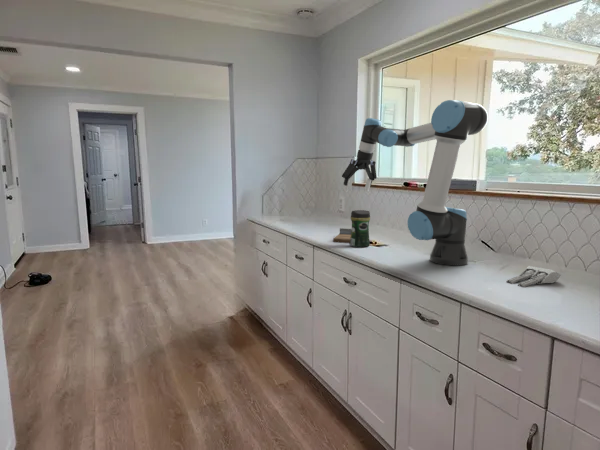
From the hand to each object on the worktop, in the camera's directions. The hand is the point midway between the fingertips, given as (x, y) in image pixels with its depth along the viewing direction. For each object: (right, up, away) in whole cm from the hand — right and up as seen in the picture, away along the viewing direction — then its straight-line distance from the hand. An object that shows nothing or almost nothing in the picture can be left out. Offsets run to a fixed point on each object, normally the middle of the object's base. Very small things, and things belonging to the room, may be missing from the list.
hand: (355, 191), depth 194 cm
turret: (+53, -38, -61) cm, 89 cm away
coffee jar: (+2, -28, 0) cm, 28 cm away
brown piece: (-1, -26, +18) cm, 31 cm away
